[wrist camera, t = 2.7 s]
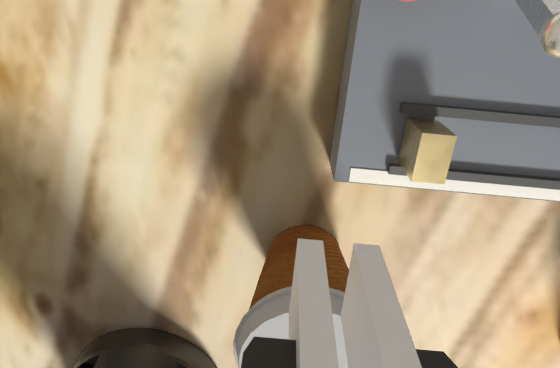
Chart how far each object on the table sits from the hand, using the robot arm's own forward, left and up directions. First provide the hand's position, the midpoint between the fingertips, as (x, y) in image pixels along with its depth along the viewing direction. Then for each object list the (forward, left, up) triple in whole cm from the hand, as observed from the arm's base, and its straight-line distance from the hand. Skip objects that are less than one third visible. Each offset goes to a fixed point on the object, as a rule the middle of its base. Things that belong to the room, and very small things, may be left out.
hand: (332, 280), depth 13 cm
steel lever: (+11, +10, -16) cm, 22 cm away
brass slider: (+7, 0, -16) cm, 18 cm away
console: (+12, +4, -20) cm, 24 cm away
